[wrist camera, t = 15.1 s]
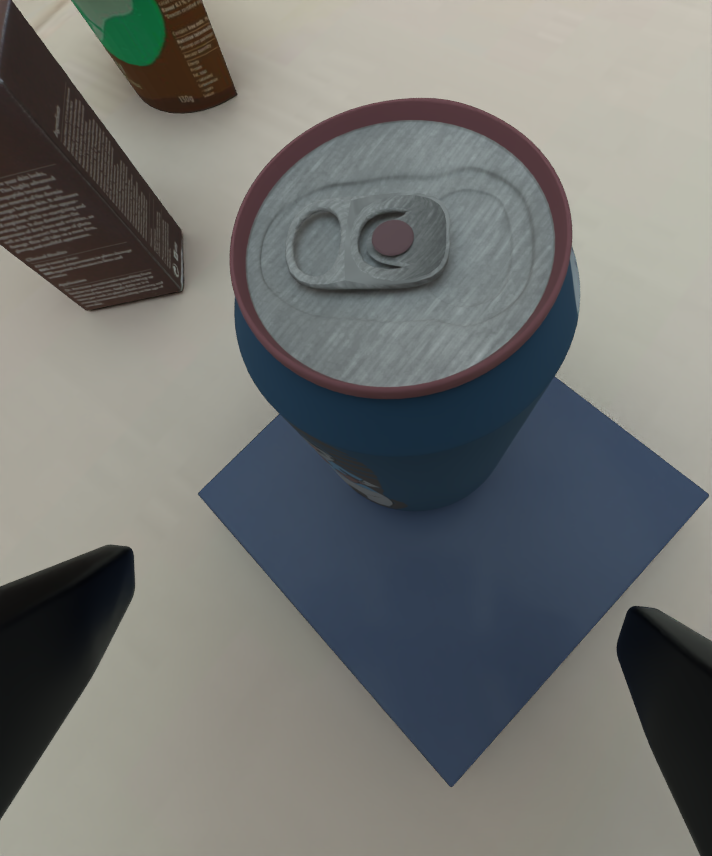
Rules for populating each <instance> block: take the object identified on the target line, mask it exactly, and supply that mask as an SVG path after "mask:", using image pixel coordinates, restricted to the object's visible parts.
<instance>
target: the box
mask: <svg viewBox="0 0 712 856" xmlns="http://www.w3.org/2000/svg"><path fill="white" fill-rule="evenodd" d="M181 232H182V231H181V229H180V228H179V227H178V225H177V224H176V222H175V221H174V220H173V218H172V217H171V216H170V214H169V213H168V212H167V210H166V209H165V207H164V206H163V205H162V203H161V202H160V201H159V199H158V198H157V196H156V195H155V194H154V193H153V191H152V190H151V188H150V187H149V186H148V184H147V183H146V182H145V180H144V179H143V178H142V176H141V175H140V174H139V172H138V171H137V170H136V168H135V167H134V165H133V164H132V163H131V161H130V160H129V158H128V157H127V156H126V154H125V153H124V152H123V150H122V149H121V148H120V146H119V145H118V144H117V142H116V141H115V139H114V138H113V137H112V135H111V134H110V133H109V131H108V130H107V129H106V127H105V126H104V124H103V123H102V122H101V121H100V119H99V118H98V117H97V115H96V114H95V113H94V111H93V110H92V108H91V107H90V106H89V105H88V103H87V102H86V101H85V99H84V98H83V96H82V95H81V94H80V92H79V91H78V90H77V88H76V87H75V86H74V84H73V83H72V82H71V80H70V79H69V77H68V76H67V74H66V73H65V71H64V70H63V69H62V67H61V66H60V65H59V64H58V62H57V61H56V60H55V58H54V57H53V56H52V54H51V53H50V52H49V50H48V49H47V47H46V46H45V45H44V43H43V42H42V40H41V39H40V38H39V36H38V35H37V34H36V32H35V31H34V29H33V28H32V27H31V26H30V25H29V23H28V22H27V21H26V19H25V18H24V16H23V15H22V13H21V12H20V11H19V9H18V8H17V7H16V6H15V4H14V3H13V1H12V0H0V245H2V246H3V247H4V248H5V249H7V250H8V251H9V252H11V253H12V254H13V255H14V256H16V257H17V258H18V259H20V260H21V261H22V262H24V263H25V264H26V265H27V266H29V267H30V268H32V269H33V270H34V271H35V272H37V273H38V274H39V275H41V276H42V277H43V278H44V279H46V280H47V281H49V282H50V283H51V284H52V285H54V286H55V287H56V288H58V289H59V290H60V291H61V292H63V293H64V294H65V295H67V296H68V297H69V298H70V299H72V300H73V301H74V302H76V303H77V304H78V305H79V306H81V307H82V308H84V309H85V310H87V311H88V310H92V309H97V308H101V307H106V306H111V305H116V304H120V303H126V302H130V301H135V300H140V299H145V298H150V297H154V296H159V295H164V294H169V293H174V292H179V291H182V287H183V282H184V278H183V250H182V234H181Z"/></svg>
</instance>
